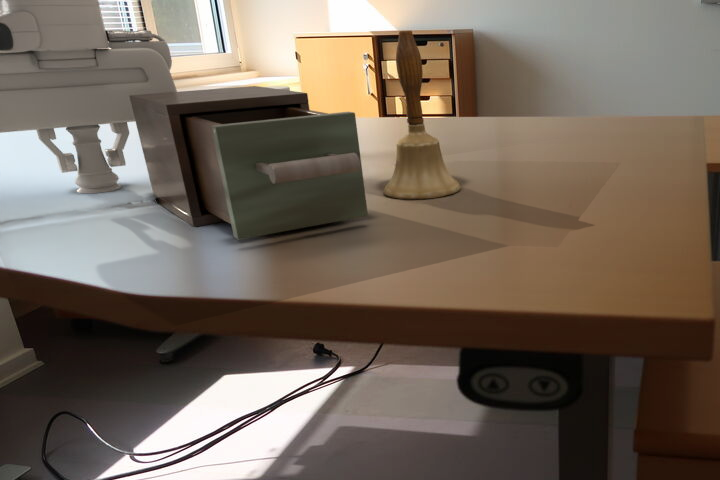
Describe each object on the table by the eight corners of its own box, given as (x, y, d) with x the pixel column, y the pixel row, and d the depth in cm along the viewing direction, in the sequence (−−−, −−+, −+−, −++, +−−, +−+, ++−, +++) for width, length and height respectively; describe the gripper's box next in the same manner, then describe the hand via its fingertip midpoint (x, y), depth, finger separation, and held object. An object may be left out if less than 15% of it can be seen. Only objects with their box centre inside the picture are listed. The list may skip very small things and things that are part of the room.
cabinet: (324, 204, 76) (307, 93, 71) (193, 227, 68) (165, 104, 64) (272, 184, 86) (255, 85, 82) (155, 201, 79) (128, 95, 75)
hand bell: (445, 200, 76) (431, 30, 69) (370, 198, 78) (350, 32, 71) (470, 183, 83) (460, 28, 76) (402, 182, 85) (386, 30, 78)
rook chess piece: (69, 194, 82) (48, 119, 79) (109, 187, 85) (90, 115, 82) (90, 199, 80) (69, 121, 76) (130, 191, 83) (112, 117, 80)
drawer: (393, 225, 63) (381, 116, 59) (258, 252, 57) (235, 132, 53) (309, 193, 76) (294, 102, 73) (192, 212, 70) (169, 113, 66)
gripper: (157, 29, 84) (184, 154, 90) (-66, 33, 72) (-19, 176, 78) (172, 29, 79) (199, 160, 85) (-64, 33, 68) (-14, 185, 74)
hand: (93, 168), depth 81 cm, fingers closed on rook chess piece, 3 cm apart
